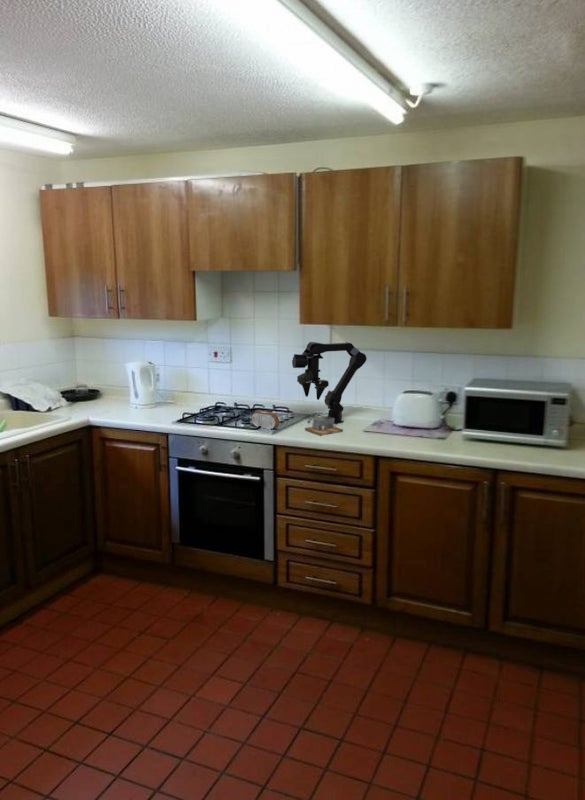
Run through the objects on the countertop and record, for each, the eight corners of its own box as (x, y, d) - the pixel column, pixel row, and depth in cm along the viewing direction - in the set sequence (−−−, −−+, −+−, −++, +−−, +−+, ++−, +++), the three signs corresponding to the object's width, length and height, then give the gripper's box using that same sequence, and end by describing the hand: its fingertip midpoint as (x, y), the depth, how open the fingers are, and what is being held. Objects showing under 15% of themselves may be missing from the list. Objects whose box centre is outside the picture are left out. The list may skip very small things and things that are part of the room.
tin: (279, 429, 311) (279, 412, 310) (276, 431, 309) (276, 414, 307) (253, 425, 319) (253, 409, 317) (250, 426, 316) (250, 410, 314)
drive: (328, 426, 315) (328, 416, 314) (334, 428, 312) (334, 418, 311) (313, 429, 308) (313, 419, 307) (318, 431, 305) (319, 420, 304)
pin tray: (327, 426, 319) (327, 419, 318) (342, 431, 309) (343, 424, 309) (304, 430, 311) (304, 422, 310) (320, 435, 301) (320, 428, 301)
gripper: (289, 366, 323) (288, 396, 326) (311, 371, 308) (310, 403, 311) (306, 364, 329) (305, 394, 332) (329, 369, 314) (328, 400, 317)
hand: (312, 398), depth 323 cm, fingers open, 9 cm apart
